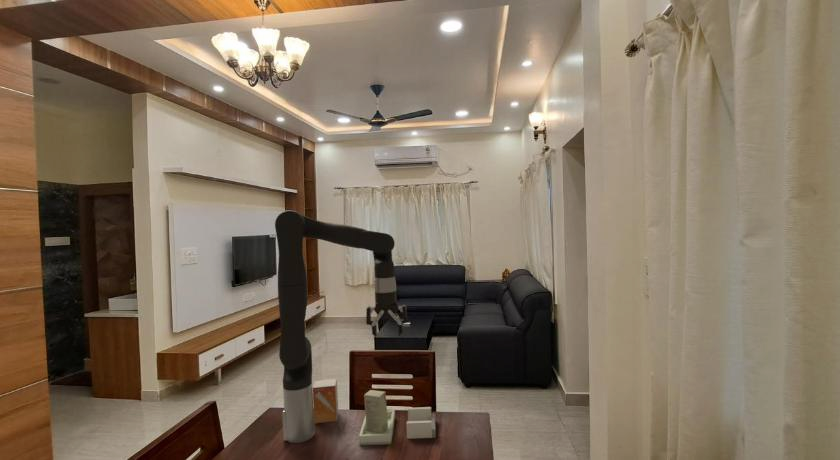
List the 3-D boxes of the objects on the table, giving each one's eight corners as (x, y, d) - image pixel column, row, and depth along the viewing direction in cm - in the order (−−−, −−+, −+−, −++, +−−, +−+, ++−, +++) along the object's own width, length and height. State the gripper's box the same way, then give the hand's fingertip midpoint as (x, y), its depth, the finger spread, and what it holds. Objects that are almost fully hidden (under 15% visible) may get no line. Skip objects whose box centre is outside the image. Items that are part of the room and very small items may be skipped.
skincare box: (388, 427, 131) (386, 391, 131) (382, 433, 127) (380, 397, 127) (372, 424, 134) (370, 388, 134) (365, 430, 130) (363, 394, 130)
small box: (314, 424, 137) (312, 387, 137) (316, 415, 144) (314, 380, 143) (337, 421, 138) (335, 385, 138) (338, 412, 145) (336, 378, 144)
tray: (359, 445, 123) (358, 436, 123) (367, 419, 139) (366, 411, 139) (391, 444, 123) (390, 434, 123) (395, 418, 139) (394, 410, 139)
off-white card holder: (407, 438, 125) (406, 423, 125) (408, 421, 136) (408, 407, 136) (435, 437, 125) (435, 422, 125) (435, 420, 136) (434, 406, 135)
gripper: (363, 292, 133) (366, 339, 133) (405, 290, 133) (407, 338, 133) (366, 288, 140) (369, 333, 141) (406, 287, 140) (408, 331, 141)
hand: (387, 335), depth 137 cm, fingers open, 8 cm apart
